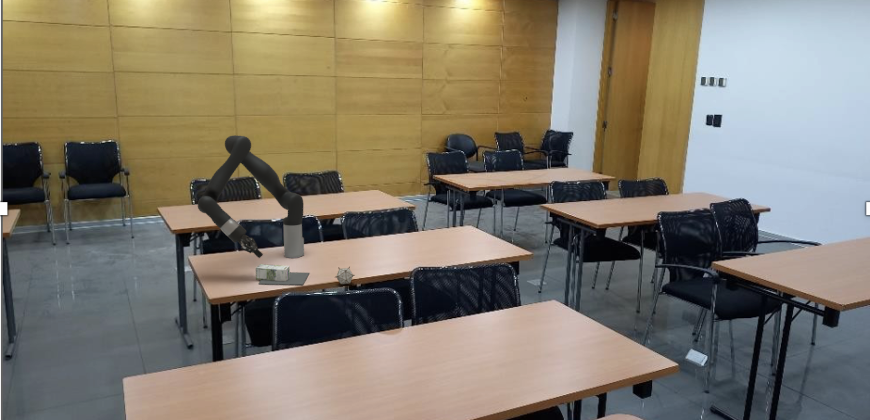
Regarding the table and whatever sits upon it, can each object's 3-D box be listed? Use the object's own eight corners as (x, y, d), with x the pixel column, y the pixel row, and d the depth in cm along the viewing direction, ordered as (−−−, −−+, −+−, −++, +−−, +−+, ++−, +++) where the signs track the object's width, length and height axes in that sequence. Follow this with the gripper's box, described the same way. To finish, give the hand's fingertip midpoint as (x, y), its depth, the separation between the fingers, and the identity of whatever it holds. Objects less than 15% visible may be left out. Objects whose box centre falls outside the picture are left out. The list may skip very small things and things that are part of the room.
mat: (258, 284, 281) (258, 283, 281) (267, 272, 297) (267, 271, 297) (302, 285, 282) (302, 284, 282) (309, 273, 297) (309, 272, 297)
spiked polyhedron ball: (347, 293, 284) (349, 281, 277) (330, 285, 285) (332, 273, 278) (356, 279, 290) (358, 266, 283) (339, 271, 291) (342, 258, 284)
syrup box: (260, 275, 292) (290, 277, 290) (255, 279, 286) (286, 281, 285) (259, 263, 290) (290, 265, 289) (255, 267, 285) (285, 269, 283)
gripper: (234, 228, 277) (263, 255, 280) (243, 220, 289) (270, 246, 292) (223, 239, 278) (251, 266, 281) (232, 231, 291) (259, 257, 294)
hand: (261, 256), depth 287 cm, fingers closed
